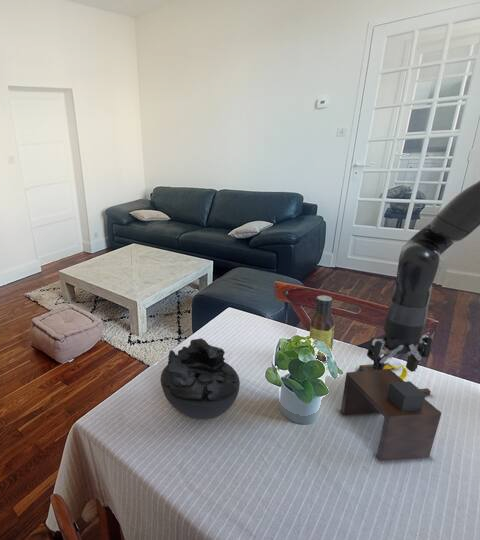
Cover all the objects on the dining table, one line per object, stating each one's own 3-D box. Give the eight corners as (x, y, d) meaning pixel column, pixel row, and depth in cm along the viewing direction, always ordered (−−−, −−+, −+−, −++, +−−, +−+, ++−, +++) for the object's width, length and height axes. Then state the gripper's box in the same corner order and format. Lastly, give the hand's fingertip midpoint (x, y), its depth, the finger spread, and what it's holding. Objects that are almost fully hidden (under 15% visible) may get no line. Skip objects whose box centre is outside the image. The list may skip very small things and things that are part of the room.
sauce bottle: (334, 361, 102) (342, 303, 95) (312, 361, 103) (318, 303, 96) (325, 349, 108) (332, 293, 101) (304, 349, 109) (309, 294, 102)
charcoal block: (406, 396, 71) (409, 381, 70) (421, 410, 68) (425, 394, 66) (386, 398, 72) (389, 382, 70) (401, 412, 68) (404, 396, 66)
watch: (400, 377, 93) (404, 359, 91) (407, 384, 90) (411, 366, 88) (377, 379, 93) (380, 361, 91) (383, 385, 91) (387, 367, 89)
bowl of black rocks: (243, 391, 95) (244, 333, 88) (234, 447, 78) (234, 381, 72) (174, 377, 103) (170, 324, 97) (152, 426, 87) (146, 365, 80)
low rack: (394, 366, 97) (395, 362, 97) (429, 395, 86) (431, 390, 85) (358, 369, 98) (359, 365, 97) (389, 398, 86) (390, 394, 86)
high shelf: (381, 408, 84) (389, 368, 80) (429, 457, 71) (441, 413, 67) (340, 411, 84) (346, 372, 80) (380, 461, 71) (389, 416, 67)
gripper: (387, 327, 81) (376, 382, 87) (448, 322, 81) (433, 378, 86) (366, 313, 88) (357, 364, 94) (422, 308, 88) (409, 360, 93)
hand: (394, 371), depth 90 cm, fingers open, 8 cm apart
